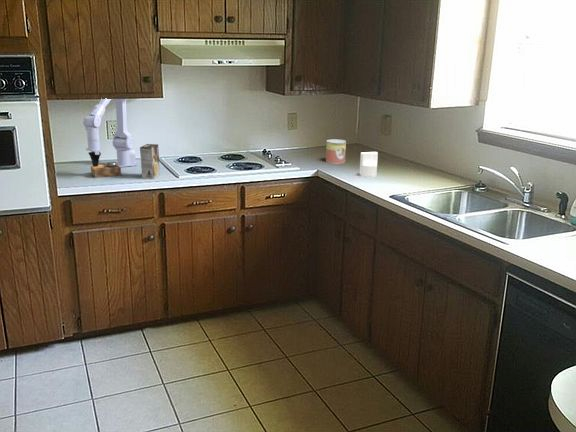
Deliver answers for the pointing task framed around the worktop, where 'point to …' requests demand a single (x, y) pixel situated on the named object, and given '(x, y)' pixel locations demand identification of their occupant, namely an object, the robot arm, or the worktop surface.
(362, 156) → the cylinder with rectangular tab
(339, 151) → the canned food
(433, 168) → the worktop surface
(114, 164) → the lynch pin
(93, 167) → the block
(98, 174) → the hitch block
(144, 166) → the coffee box
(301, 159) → the worktop surface
